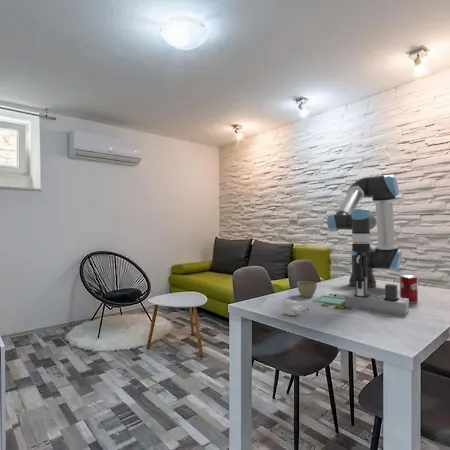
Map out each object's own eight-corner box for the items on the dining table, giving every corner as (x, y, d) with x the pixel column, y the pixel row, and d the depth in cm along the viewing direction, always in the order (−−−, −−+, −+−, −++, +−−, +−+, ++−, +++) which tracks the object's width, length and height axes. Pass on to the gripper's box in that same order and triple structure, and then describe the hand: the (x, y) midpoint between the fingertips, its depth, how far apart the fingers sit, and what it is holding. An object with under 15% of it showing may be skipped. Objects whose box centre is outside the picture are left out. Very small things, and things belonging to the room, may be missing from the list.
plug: (358, 297, 146) (357, 276, 146) (367, 299, 144) (367, 277, 144) (355, 299, 143) (355, 277, 143) (365, 300, 141) (365, 278, 141)
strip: (356, 298, 159) (356, 276, 159) (411, 305, 145) (411, 281, 145) (345, 307, 143) (344, 282, 143) (405, 315, 129) (405, 288, 129)
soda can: (398, 301, 151) (398, 276, 151) (402, 299, 157) (402, 274, 157) (415, 304, 146) (415, 278, 146) (419, 301, 152) (419, 276, 152)
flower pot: (309, 300, 157) (309, 285, 157) (293, 296, 165) (293, 283, 165) (320, 296, 164) (320, 283, 164) (304, 293, 171) (304, 280, 171)
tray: (322, 296, 164) (322, 294, 164) (348, 300, 156) (348, 298, 156) (313, 301, 153) (312, 300, 153) (340, 305, 146) (340, 303, 146)
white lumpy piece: (310, 317, 128) (310, 302, 128) (304, 320, 125) (303, 305, 125) (287, 312, 136) (287, 298, 136) (281, 314, 133) (280, 300, 133)
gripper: (357, 241, 152) (357, 290, 152) (346, 243, 139) (347, 297, 139) (374, 242, 148) (374, 292, 148) (365, 244, 134) (366, 299, 134)
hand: (361, 294), depth 143 cm, fingers closed on plug, 4 cm apart
